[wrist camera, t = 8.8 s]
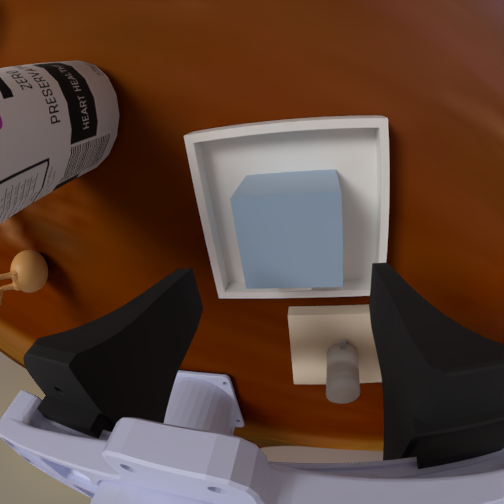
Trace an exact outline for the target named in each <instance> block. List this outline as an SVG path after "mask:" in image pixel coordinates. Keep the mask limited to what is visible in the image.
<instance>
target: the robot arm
mask: <svg viewBox="0 0 504 504" xmlns="http://www.w3.org/2000/svg"><path fill="white" fill-rule="evenodd" d="M202 309H203V306H202V303H201V299H200V296H199V292H198V288H197V285H196V281H195V277H194V274H193V270H192V269H178V270H176V271H174V272H173V273H171V274H170V275H168V276H167V277H165V278H164V279H162V280H161V281H159V282H158V283H157V284H155V285H154V286H152V287H151V288H149V289H148V290H147V291H145V292H144V293H142V294H141V295H139V296H138V297H136V298H134V299H133V300H131V301H130V302H128V303H127V304H125V305H123V306H122V307H120V308H118V309H117V310H115V311H113V312H111V313H109V314H107V315H105V316H103V317H101V318H99V319H96V320H94V321H92V322H90V323H87V324H85V325H83V326H80V327H77V328H74V329H71V330H68V331H65V332H62V333H58V334H54V335H50V336H46V337H41V338H38V339H37V340H36V342H35V343H34V344H33V345H32V346H31V348H30V349H29V350H28V351H27V352H26V354H25V355H24V357H23V358H24V364H25V367H26V369H27V370H28V372H29V374H30V375H31V376H32V378H33V379H34V381H35V382H36V383H37V385H38V386H39V387H40V388H41V390H42V391H43V392H44V393H45V395H46V396H45V397H44V399H43V400H41V399H40V398H39V397H37V396H36V395H33V394H31V393H29V392H26V391H24V390H21V391H20V392H19V393H18V395H17V396H16V398H15V399H14V400H13V402H12V403H11V405H10V406H9V408H8V409H7V410H6V412H5V413H4V415H3V416H2V418H1V419H0V437H1V438H2V439H3V440H4V441H5V442H6V443H7V444H8V445H9V446H10V447H11V448H12V449H13V450H15V451H16V452H17V453H18V454H19V455H20V456H21V457H23V458H24V459H25V460H26V461H27V462H28V463H30V464H32V465H33V466H35V467H37V468H38V469H40V470H41V471H43V472H45V473H46V474H48V475H50V476H51V477H53V478H55V479H57V480H59V481H60V482H62V483H64V484H65V485H67V486H69V487H71V488H73V489H75V490H76V491H79V492H80V493H82V494H84V495H86V496H88V497H90V498H92V500H91V503H90V504H504V345H503V344H500V343H497V342H495V341H492V340H489V339H487V338H485V337H483V336H480V335H478V334H476V333H474V332H472V331H470V330H468V329H466V328H465V327H463V326H461V325H460V324H458V323H456V322H455V321H453V320H451V319H450V318H448V317H447V316H445V315H444V314H443V313H441V312H440V311H439V310H437V309H436V308H435V307H433V306H432V305H431V304H429V303H428V302H427V301H426V300H425V299H424V298H423V297H421V296H420V295H419V294H418V293H417V292H416V291H415V290H414V289H413V288H412V287H411V286H410V285H409V284H408V283H407V282H406V281H405V280H404V279H403V278H402V277H401V276H400V275H399V274H398V273H397V272H396V271H395V270H394V269H393V268H392V267H391V266H390V265H389V264H388V263H372V275H371V289H370V301H369V310H370V320H371V328H372V333H373V338H374V342H375V347H376V352H377V356H378V361H379V366H380V371H381V377H382V387H383V405H384V454H383V461H374V462H359V463H330V464H328V463H327V464H325V463H324V464H315V463H313V464H312V463H283V462H268V461H267V457H266V455H265V454H264V453H263V452H262V451H261V450H260V449H259V448H258V446H257V445H256V444H254V443H252V442H249V441H247V440H245V439H243V438H241V437H238V436H233V433H234V430H235V427H244V420H243V417H242V414H241V411H240V408H239V405H238V402H237V398H236V395H235V392H234V389H233V385H232V382H231V379H230V377H229V376H228V375H225V374H212V373H201V372H191V371H182V370H179V368H180V365H181V363H182V361H183V359H184V357H185V354H186V352H187V350H188V348H189V346H190V343H191V341H192V339H193V337H194V334H195V332H196V330H197V327H198V324H199V321H200V317H201V313H202Z"/></svg>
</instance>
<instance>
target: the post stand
mask: <svg viewBox="0 0 504 504" xmlns="http://www.w3.org/2000/svg"><path fill="white" fill-rule="evenodd" d="M288 324H289V334H290V345H291V356H292V368H293V380H294V384H326V397H327V399H328V400H330V401H331V402H334V403H349V402H352V401H354V400H355V399H357V398H358V397H359V395H360V383H373V382H382V377H381V371H380V366H379V361H378V356H377V352H376V347H375V342H374V338H373V333H372V328H371V320H370V310H369V304H366V305H340V306H297V307H289V310H288Z"/></svg>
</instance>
